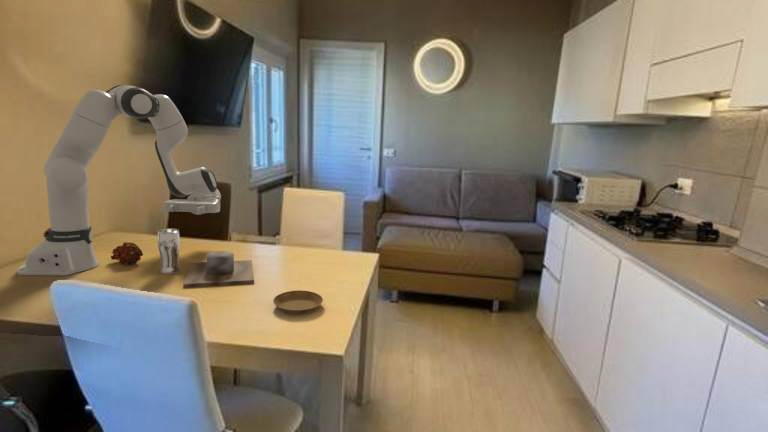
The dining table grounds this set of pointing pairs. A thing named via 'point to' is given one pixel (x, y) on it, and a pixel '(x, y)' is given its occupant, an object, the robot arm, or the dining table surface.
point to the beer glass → (169, 250)
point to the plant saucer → (298, 302)
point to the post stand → (219, 271)
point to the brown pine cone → (127, 253)
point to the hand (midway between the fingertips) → (183, 210)
